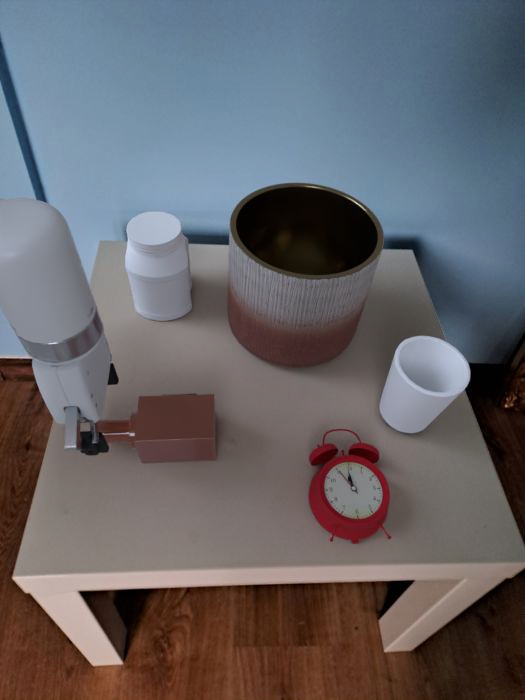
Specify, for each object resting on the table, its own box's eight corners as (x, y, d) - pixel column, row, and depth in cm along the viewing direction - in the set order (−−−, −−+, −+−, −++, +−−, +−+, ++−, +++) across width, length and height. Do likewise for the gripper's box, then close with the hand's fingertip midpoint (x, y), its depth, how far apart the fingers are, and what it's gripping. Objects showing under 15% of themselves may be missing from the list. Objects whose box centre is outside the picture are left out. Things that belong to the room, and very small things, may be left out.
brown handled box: (215, 460, 63) (96, 465, 61) (215, 405, 68) (104, 408, 67) (214, 438, 58) (84, 443, 56) (214, 380, 63) (94, 383, 62)
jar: (139, 275, 84) (125, 204, 72) (191, 274, 85) (186, 204, 73) (134, 322, 77) (118, 252, 65) (192, 320, 78) (185, 251, 66)
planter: (227, 275, 85) (228, 178, 70) (344, 278, 87) (370, 183, 71) (226, 372, 72) (227, 278, 56) (364, 373, 74) (402, 282, 58)
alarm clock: (319, 544, 53) (308, 419, 60) (310, 546, 59) (301, 432, 65) (406, 540, 54) (385, 417, 61) (389, 542, 60) (372, 430, 66)
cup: (378, 444, 66) (406, 397, 56) (363, 387, 72) (386, 335, 62) (444, 441, 67) (483, 394, 57) (424, 385, 73) (456, 334, 63)
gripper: (40, 265, 49) (82, 360, 63) (-6, 404, 38) (56, 483, 52) (111, 264, 50) (138, 359, 63) (85, 401, 39) (124, 479, 53)
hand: (101, 415), depth 58 cm, fingers open, 9 cm apart
